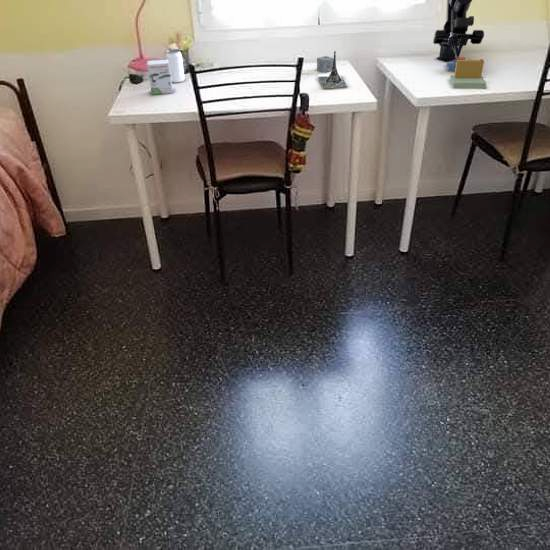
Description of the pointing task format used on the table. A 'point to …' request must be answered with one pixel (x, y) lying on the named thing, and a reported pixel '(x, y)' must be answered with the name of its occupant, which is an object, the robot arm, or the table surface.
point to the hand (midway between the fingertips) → (457, 56)
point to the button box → (451, 66)
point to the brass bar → (469, 68)
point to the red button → (460, 58)
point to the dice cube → (325, 63)
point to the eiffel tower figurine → (333, 78)
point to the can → (175, 65)
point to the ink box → (159, 76)
